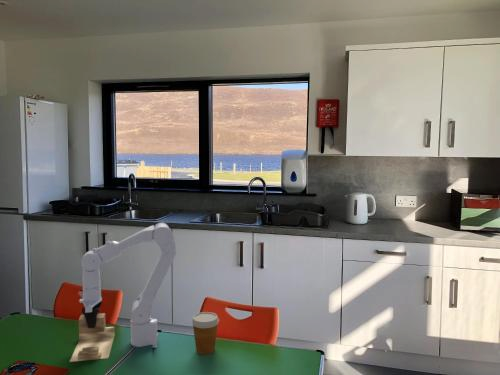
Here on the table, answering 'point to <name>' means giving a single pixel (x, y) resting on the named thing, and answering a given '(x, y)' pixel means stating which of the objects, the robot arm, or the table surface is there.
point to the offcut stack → (89, 353)
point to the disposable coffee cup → (205, 331)
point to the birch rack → (95, 343)
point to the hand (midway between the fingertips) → (93, 324)
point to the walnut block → (98, 328)
